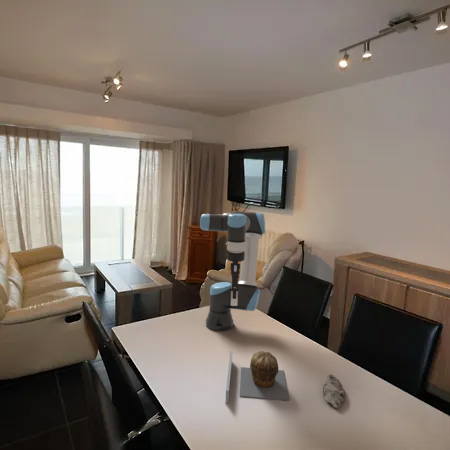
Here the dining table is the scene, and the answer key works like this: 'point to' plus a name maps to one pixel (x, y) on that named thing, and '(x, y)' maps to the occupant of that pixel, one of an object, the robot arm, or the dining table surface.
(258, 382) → the ribbed globe cactus
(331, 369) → the dining table surface
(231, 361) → the acrylic wall
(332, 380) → the mineral rock
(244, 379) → the rest mat
